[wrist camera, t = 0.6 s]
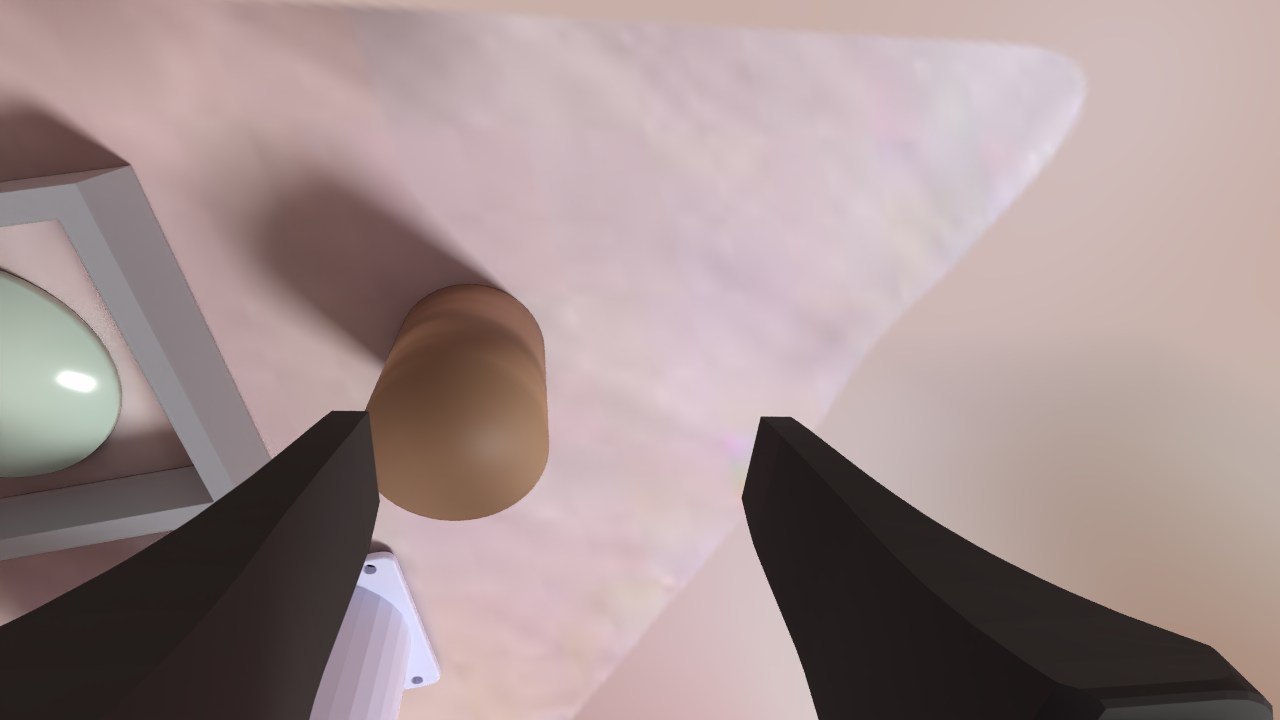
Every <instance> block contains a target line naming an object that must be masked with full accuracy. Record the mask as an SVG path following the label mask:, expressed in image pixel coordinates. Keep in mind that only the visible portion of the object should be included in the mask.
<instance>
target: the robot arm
mask: <svg viewBox="0 0 1280 720" xmlns="http://www.w3.org/2000/svg"><path fill="white" fill-rule="evenodd" d="M379 502H380V500H379V492H378V483H377V475H376V466H375V458H374V450H373V441H372V433H371V424H370V416H369V411H331V412H330V413H329V414H327V415H326V416H325V417H323V418H322V419H321V420H320V421H318V422H317V423H316V424H315V425H313V426H312V427H311V428H310V429H309V430H307V431H306V432H305V433H304V434H303V435H301V436H300V437H299V438H298V439H297V440H295V441H294V442H293V443H292V444H290V445H289V446H288V447H287V448H286V449H284V450H283V451H282V452H281V453H279V454H278V455H277V456H276V457H274V458H273V459H272V460H271V461H269V462H268V463H267V464H265V465H264V466H263V467H262V468H260V469H259V470H258V471H257V472H255V473H254V474H253V475H252V476H250V477H249V478H248V479H246V480H245V481H244V482H242V483H241V484H240V485H238V486H237V487H235V488H234V489H233V490H231V491H230V492H228V493H227V494H226V495H224V496H223V497H222V498H220V499H219V500H217V501H216V502H215V503H213V504H212V505H210V506H209V507H208V508H206V509H205V510H203V511H202V512H201V513H199V514H198V515H197V516H195V517H194V518H192V519H191V520H189V521H188V522H186V523H185V524H183V525H182V526H180V527H179V528H177V529H176V530H174V531H173V532H171V533H169V534H168V535H166V536H165V537H163V538H162V539H160V540H158V541H157V542H155V543H154V544H152V545H150V546H149V547H147V548H145V549H144V550H142V551H140V552H139V553H137V554H135V555H134V556H132V557H130V558H129V559H127V560H126V561H124V562H122V563H120V564H119V565H117V566H115V567H113V568H112V569H110V570H108V571H106V572H104V573H102V574H101V575H99V576H97V577H95V578H93V579H91V580H89V581H88V582H86V583H84V584H82V585H80V586H78V587H76V588H74V589H73V590H71V591H69V592H67V593H65V594H63V595H61V596H59V597H58V598H56V599H54V600H52V601H50V602H48V603H46V604H44V605H43V606H41V607H39V608H37V609H35V610H33V611H31V612H29V613H27V614H25V615H23V616H21V617H19V618H17V619H15V620H13V621H11V622H9V623H6V624H4V625H2V626H0V720H398V715H399V710H400V705H401V699H402V694H403V690H406V689H410V688H415V687H420V686H425V685H430V684H433V683H435V682H437V681H438V680H439V678H440V667H439V665H438V662H437V659H436V657H435V654H434V652H433V649H432V647H431V644H430V642H429V639H428V637H427V634H426V632H425V629H424V626H423V624H422V621H421V619H420V616H419V614H418V611H417V609H416V606H415V604H414V601H413V599H412V596H411V593H410V591H409V588H408V586H407V583H406V581H405V578H404V576H403V573H402V571H401V568H400V566H399V563H398V561H397V558H396V557H395V555H393V554H392V553H390V552H376V553H371V554H368V551H369V547H370V543H371V538H372V534H373V530H374V526H375V521H376V516H377V512H378V507H379ZM742 502H743V506H744V510H745V514H746V518H747V523H748V526H749V530H750V534H751V537H752V541H753V544H754V547H755V549H756V552H757V555H758V557H759V560H760V562H761V565H762V567H763V569H764V572H765V575H766V577H767V579H768V582H769V584H770V587H771V589H772V592H773V594H774V596H775V599H776V601H777V604H778V606H779V609H780V611H781V613H782V616H783V618H784V620H785V623H786V626H787V628H788V630H789V633H790V635H791V638H792V640H793V643H794V645H795V647H796V650H797V653H798V655H799V658H800V661H801V664H802V666H803V669H804V672H805V676H806V679H807V682H808V685H809V689H810V692H811V696H812V699H813V702H814V706H815V709H816V712H817V716H818V719H819V720H1273V710H1272V705H1271V704H1270V703H1269V702H1268V701H1267V700H1266V698H1264V696H1263V695H1262V694H1261V693H1260V692H1259V691H1258V690H1256V689H1255V688H1254V687H1253V686H1252V685H1251V684H1250V683H1249V682H1248V681H1247V680H1246V679H1245V678H1244V677H1243V676H1242V675H1241V674H1240V673H1239V672H1238V671H1237V670H1236V669H1235V668H1234V667H1233V666H1232V665H1230V663H1229V662H1228V661H1226V659H1224V658H1223V657H1222V656H1221V655H1220V654H1219V653H1218V652H1217V651H1216V650H1215V649H1213V648H1212V647H1211V646H1209V645H1206V644H1203V643H1201V642H1198V641H1195V640H1192V639H1190V638H1187V637H1184V636H1181V635H1178V634H1176V633H1173V632H1170V631H1168V630H1165V629H1162V628H1159V627H1157V626H1153V625H1151V624H1148V623H1145V622H1143V621H1140V620H1137V619H1135V618H1132V617H1129V616H1126V615H1124V614H1121V613H1119V612H1116V611H1114V610H1112V609H1109V608H1107V607H1104V606H1102V605H1100V604H1097V603H1095V602H1092V601H1090V600H1088V599H1085V598H1083V597H1081V596H1078V595H1076V594H1074V593H1071V592H1069V591H1067V590H1065V589H1062V588H1060V587H1058V586H1056V585H1054V584H1051V583H1049V582H1047V581H1045V580H1043V579H1041V578H1039V577H1037V576H1035V575H1033V574H1031V573H1028V572H1027V571H1024V570H1022V569H1020V568H1019V567H1016V566H1015V565H1013V564H1010V563H1008V562H1007V561H1004V560H1003V559H1001V558H999V557H997V556H995V555H993V554H991V553H989V552H987V551H986V550H984V549H982V548H980V547H978V546H976V545H974V544H973V543H971V542H970V541H968V540H966V539H964V538H963V537H961V536H959V535H958V534H956V533H954V532H952V531H951V530H949V529H947V528H946V527H944V526H942V525H941V524H939V523H937V522H936V521H934V520H932V519H931V518H929V517H928V516H926V515H925V514H923V513H921V512H920V511H919V510H917V509H916V508H914V507H912V506H911V505H910V504H908V503H907V502H905V501H904V500H902V499H901V498H900V497H898V496H897V495H895V494H894V493H892V492H891V491H889V490H888V489H887V488H885V487H884V486H882V485H881V484H880V483H878V482H877V481H875V480H874V479H873V478H871V477H870V476H869V475H867V474H866V473H865V472H863V471H862V470H861V469H859V468H858V467H857V466H856V465H854V464H853V463H852V462H850V461H849V460H848V459H846V458H845V457H844V456H842V455H841V454H840V453H839V452H837V451H836V450H835V449H833V448H832V447H831V446H830V445H828V444H827V443H826V442H824V441H823V440H822V439H821V438H819V437H818V436H817V435H815V434H814V433H813V432H811V431H810V430H809V429H807V428H806V427H805V426H803V425H802V424H800V423H799V422H798V421H796V420H795V419H793V418H792V417H761V418H760V423H759V427H758V431H757V435H756V440H755V444H754V448H753V452H752V456H751V461H750V465H749V469H748V473H747V478H746V482H745V486H744V490H743V494H742ZM367 565H373V566H375V567H369V566H367Z"/></svg>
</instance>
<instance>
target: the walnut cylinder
mask: <svg viewBox="0 0 1280 720" xmlns="http://www.w3.org/2000/svg"><path fill="white" fill-rule="evenodd" d="M365 411H369V416H370V424H371V433H372V441H373V450H374V458H375V466H376V475H377V483H378V491H379V492H380V493H381V494H382V495H383V496H384V497H386V498H387V499H388V500H390V501H391V502H393V503H394V504H396V505H397V506H399V507H401V508H403V509H405V510H407V511H409V512H412V513H414V514H417V515H420V516H424V517H428V518H432V519H438V520H449V521H461V520H471V519H478V518H482V517H486V516H490V515H493V514H495V513H498V512H500V511H502V510H505V509H507V508H509V507H510V506H512V505H514V504H515V503H517V502H518V501H519V500H521V499H522V498H523V497H524V496H526V495H527V494H528V493H529V492H530V491H531V489H532V488H533V487H534V486H535V485H536V483H537V482H538V480H539V479H540V477H541V475H542V473H543V471H544V469H545V466H546V463H547V459H548V454H549V430H548V410H547V390H546V370H545V350H544V340H543V336H542V333H541V330H540V328H539V325H538V323H537V322H536V320H535V318H534V317H533V315H532V314H531V313H530V312H529V310H528V309H527V308H526V307H525V306H524V305H523V304H522V303H520V302H519V301H518V300H516V299H515V298H514V297H512V296H510V295H508V294H507V293H505V292H502V291H500V290H498V289H495V288H491V287H488V286H482V285H475V284H463V285H454V286H450V287H446V288H443V289H440V290H437V291H435V292H433V293H431V294H429V295H428V296H426V297H425V298H423V299H422V300H421V301H419V302H418V303H417V304H416V305H415V306H414V307H413V308H412V310H411V311H410V312H409V313H408V315H407V317H406V319H405V320H404V322H403V325H402V327H401V329H400V331H399V334H398V336H397V338H396V341H395V343H394V345H393V347H392V350H391V352H390V354H389V357H388V359H387V361H386V363H385V366H384V368H383V370H382V373H381V375H380V377H379V379H378V382H377V384H376V386H375V389H374V391H373V393H372V395H371V398H370V400H369V402H368V405H367V407H366V409H365Z"/></svg>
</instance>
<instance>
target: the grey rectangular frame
mask: <svg viewBox="0 0 1280 720" xmlns="http://www.w3.org/2000/svg"><path fill="white" fill-rule="evenodd" d="M57 219H59V221H60V223H61V225H62V227H63V228H64V230H65V232H66V234H67V236H68V237H69V239H70V241H71V243H72V245H73V247H74V248H75V250H76V252H77V254H78V256H79V257H80V259H81V261H82V263H83V265H84V266H85V268H86V270H87V272H88V274H89V276H90V277H91V279H92V281H93V283H94V285H95V286H96V288H97V290H98V292H99V294H100V296H101V297H102V299H103V301H104V303H105V305H106V306H107V308H108V310H109V312H110V314H111V315H112V317H113V319H114V321H115V323H116V325H117V326H118V328H119V330H120V332H121V334H122V335H123V337H124V339H125V341H126V343H127V344H128V346H129V348H130V350H131V352H132V354H133V355H134V357H135V359H136V361H137V363H138V364H139V366H140V368H141V370H142V372H143V373H144V375H145V377H146V379H147V381H148V383H149V384H150V386H151V388H152V390H153V392H154V393H155V395H156V397H157V399H158V401H159V403H160V404H161V406H162V408H163V410H164V412H165V413H166V415H167V417H168V419H169V421H170V422H171V424H172V426H173V428H174V430H175V432H176V433H177V435H178V437H179V439H180V441H181V442H182V444H183V446H184V448H185V450H186V451H187V453H188V455H189V457H190V459H191V461H192V462H193V464H194V466H189V467H183V468H177V469H172V470H166V471H160V472H154V473H148V474H142V475H136V476H131V477H125V478H119V479H113V480H107V481H101V482H95V483H90V484H84V485H78V486H72V487H66V488H60V489H54V490H49V491H43V492H37V493H31V494H25V495H19V496H13V497H8V498H2V499H0V561H2V560H8V559H13V558H19V557H25V556H30V555H36V554H41V553H47V552H52V551H58V550H64V549H69V548H75V547H80V546H86V545H92V544H97V543H103V542H108V541H114V540H119V539H125V538H131V537H136V536H142V535H147V534H153V533H159V532H164V531H170V530H175V529H177V528H179V527H180V526H182V525H183V524H185V523H186V522H188V521H189V520H191V519H192V518H194V517H195V516H197V515H198V514H199V513H201V512H202V511H203V510H205V509H206V508H208V507H209V506H210V505H212V504H213V503H215V502H216V501H217V500H219V499H220V498H222V497H223V496H224V495H226V494H227V493H228V492H230V491H231V490H233V489H234V488H235V487H237V486H238V485H240V484H241V483H242V482H244V481H245V480H246V479H248V478H249V477H250V476H252V475H253V474H254V473H255V472H257V471H258V470H259V469H260V468H262V467H263V466H264V465H265V464H267V463H268V462H269V461H271V458H270V456H269V454H268V452H267V450H266V448H265V446H264V444H263V442H262V440H261V437H260V435H259V433H258V431H257V429H256V427H255V425H254V423H253V421H252V419H251V416H250V414H249V412H248V410H247V408H246V406H245V404H244V402H243V400H242V397H241V395H240V393H239V391H238V389H237V387H236V385H235V383H234V381H233V379H232V376H231V374H230V372H229V370H228V368H227V366H226V364H225V362H224V360H223V358H222V355H221V353H220V351H219V349H218V347H217V345H216V343H215V341H214V339H213V337H212V334H211V332H210V330H209V328H208V326H207V324H206V322H205V320H204V318H203V316H202V313H201V311H200V309H199V307H198V305H197V303H196V301H195V299H194V297H193V295H192V292H191V290H190V288H189V286H188V284H187V282H186V280H185V278H184V276H183V274H182V271H181V269H180V267H179V265H178V263H177V261H176V259H175V257H174V255H173V253H172V250H171V248H170V246H169V244H168V242H167V240H166V238H165V236H164V234H163V232H162V229H161V227H160V225H159V223H158V221H157V219H156V217H155V215H154V213H153V210H152V208H151V206H150V204H149V202H148V200H147V198H146V196H145V194H144V192H143V189H142V187H141V185H140V183H139V181H138V179H137V177H136V175H135V173H134V171H133V168H132V166H131V165H129V166H121V167H114V168H106V169H98V170H90V171H83V172H75V173H67V174H59V175H51V176H44V177H36V178H28V179H20V180H12V181H5V182H0V227H5V226H12V225H19V224H27V223H34V222H42V221H49V220H57Z"/></svg>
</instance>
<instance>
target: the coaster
mask: <svg viewBox="0 0 1280 720" xmlns="http://www.w3.org/2000/svg"><path fill="white" fill-rule="evenodd" d="M121 406H122V389H121V383H120V378H119V375H118V372H117V369H116V366H115V364H114V362H113V360H112V358H111V356H110V354H109V352H108V350H107V349H106V347H105V346H104V344H103V343H102V341H101V340H100V339H99V337H98V336H97V335H96V334H95V333H94V331H93V330H92V329H91V328H90V327H89V326H88V325H87V324H86V323H85V322H84V321H83V320H82V319H81V318H80V317H79V316H78V315H77V314H76V313H75V312H73V311H72V310H71V309H70V308H68V307H67V306H66V305H65V304H63V303H62V302H61V301H59V300H58V299H56V298H55V297H53V296H52V295H50V294H48V293H47V292H45V291H44V290H42V289H40V288H38V287H36V286H35V285H33V284H31V283H29V282H27V281H25V280H23V279H21V278H18V277H16V276H14V275H11V274H9V273H6V272H4V271H1V270H0V477H27V476H36V475H43V474H47V473H51V472H56V471H58V470H61V469H64V468H67V467H70V466H72V465H74V464H76V463H77V462H79V461H81V460H83V459H84V458H86V457H87V456H88V455H90V454H91V453H92V452H93V451H95V450H96V449H97V448H98V447H99V446H100V445H101V444H102V443H103V442H104V441H105V440H106V439H107V438H108V436H109V435H110V433H111V432H112V431H113V429H114V428H115V425H116V423H117V421H118V418H119V415H120V411H121Z"/></svg>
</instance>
